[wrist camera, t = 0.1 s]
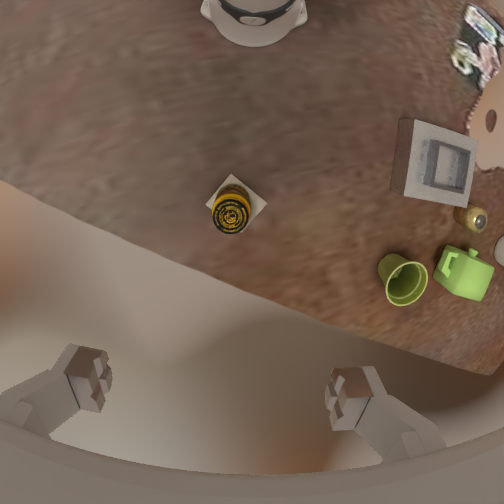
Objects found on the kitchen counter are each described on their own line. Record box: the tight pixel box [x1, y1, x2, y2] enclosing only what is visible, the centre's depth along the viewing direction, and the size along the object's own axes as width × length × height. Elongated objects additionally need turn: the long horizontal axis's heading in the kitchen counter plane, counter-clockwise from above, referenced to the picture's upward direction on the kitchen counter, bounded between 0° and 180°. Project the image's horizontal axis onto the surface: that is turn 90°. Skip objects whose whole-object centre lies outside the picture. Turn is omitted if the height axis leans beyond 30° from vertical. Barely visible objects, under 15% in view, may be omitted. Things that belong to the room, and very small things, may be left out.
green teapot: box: [433, 244, 494, 301], centre depth 58 cm, size 18×10×10 cm, turn 74°
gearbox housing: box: [390, 119, 478, 208], centre depth 50 cm, size 14×16×8 cm
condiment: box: [206, 174, 267, 234], centre depth 51 cm, size 7×8×12 cm
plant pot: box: [378, 253, 428, 306], centre depth 58 cm, size 9×9×9 cm
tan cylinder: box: [453, 203, 488, 233], centre depth 55 cm, size 5×5×8 cm
